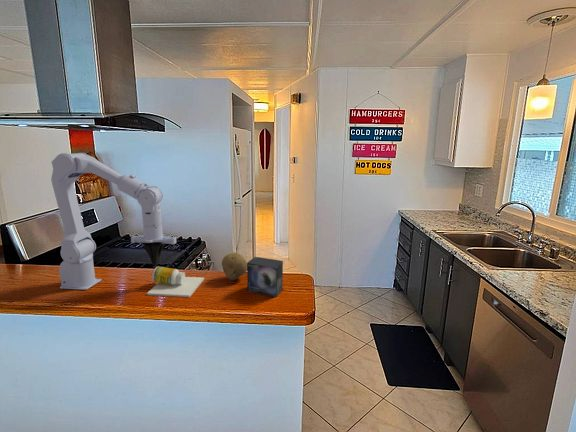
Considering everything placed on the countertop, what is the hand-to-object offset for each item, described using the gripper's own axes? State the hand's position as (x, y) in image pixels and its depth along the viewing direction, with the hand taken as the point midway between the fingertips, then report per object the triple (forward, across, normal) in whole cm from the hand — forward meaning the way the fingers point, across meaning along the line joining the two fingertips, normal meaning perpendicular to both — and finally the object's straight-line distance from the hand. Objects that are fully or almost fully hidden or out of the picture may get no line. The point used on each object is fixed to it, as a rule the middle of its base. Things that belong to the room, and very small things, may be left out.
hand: (155, 263), depth 108 cm
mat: (+8, +7, 0) cm, 11 cm away
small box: (+8, +37, 0) cm, 38 cm away
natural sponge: (+8, +25, +8) cm, 27 cm away
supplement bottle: (+4, -1, 0) cm, 4 cm away
